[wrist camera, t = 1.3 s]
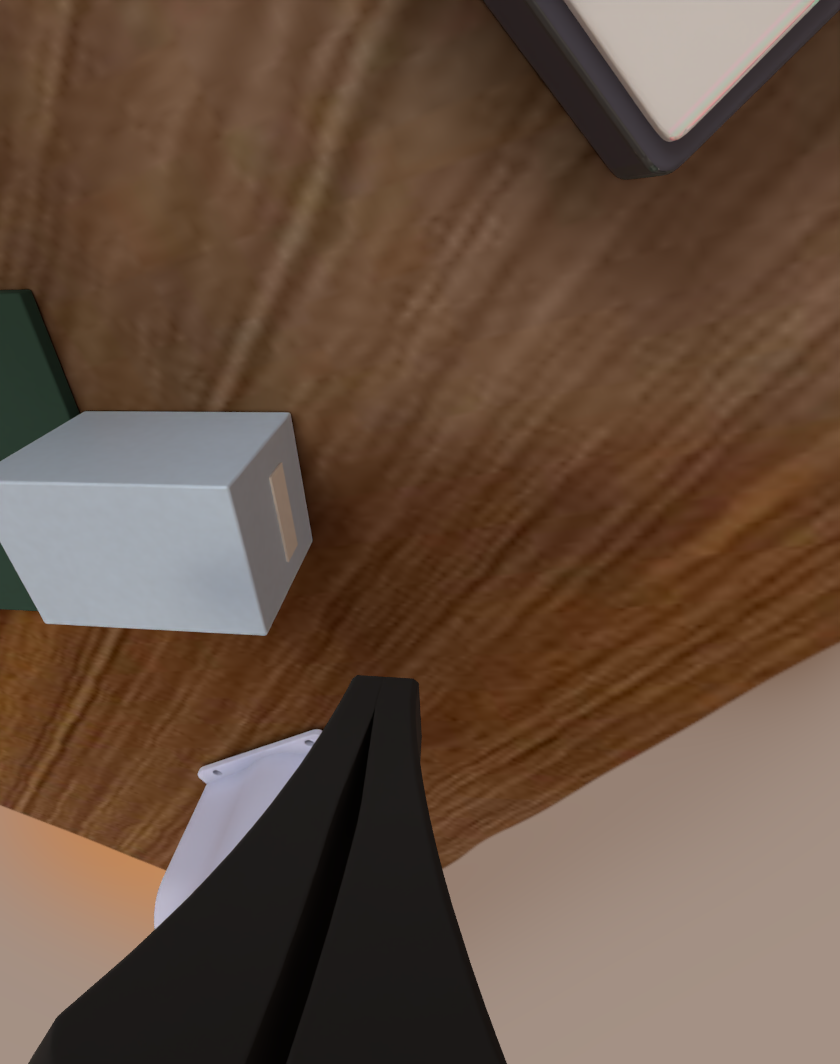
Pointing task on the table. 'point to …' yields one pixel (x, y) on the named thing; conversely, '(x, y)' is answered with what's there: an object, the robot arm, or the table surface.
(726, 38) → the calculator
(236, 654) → the table surface
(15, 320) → the rubber mat
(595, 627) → the table surface
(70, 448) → the grey block
